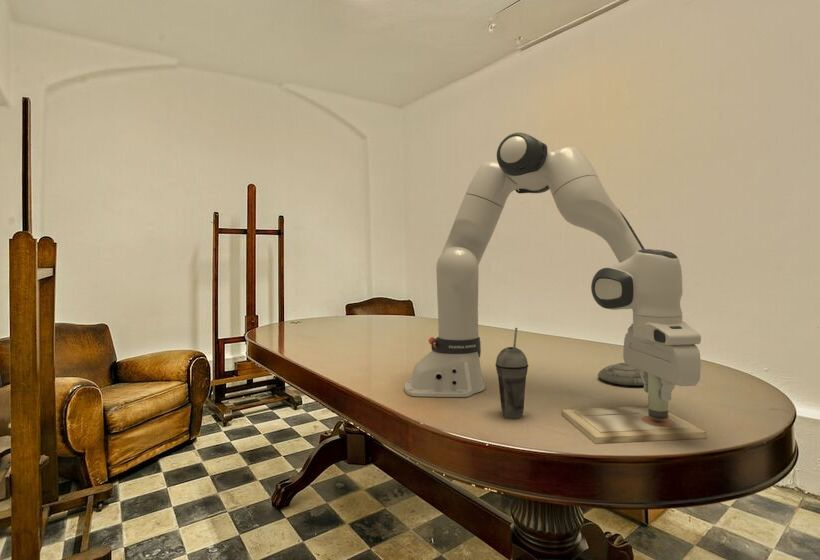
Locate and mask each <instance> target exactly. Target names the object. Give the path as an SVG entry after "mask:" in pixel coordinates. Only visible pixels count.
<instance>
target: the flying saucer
mask: <svg viewBox="0 0 820 560" xmlns="http://www.w3.org/2000/svg"><path fill="white" fill-rule="evenodd" d="M597 377H598V378H599V379H601V380H602V381H605V382H607V383H611V384H615V385H619V386H621V385H622V386H631V387H632V386H638V387H640V386H644V383H643V381H642V378H641V375H640V369H637V368H635V367H632V366H630V365H628V364H626V363H625V362H618V363H615V364H610V365H607V366H605V367H604V368H602V369H600V371H598V373H597Z"/></svg>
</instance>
